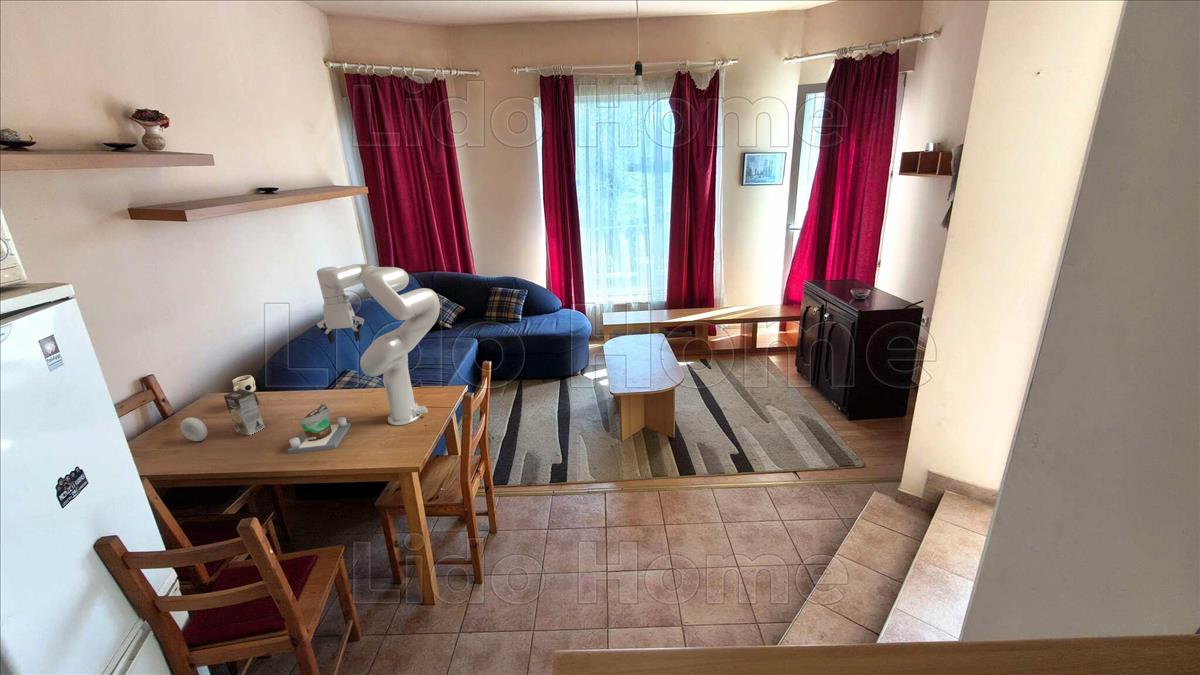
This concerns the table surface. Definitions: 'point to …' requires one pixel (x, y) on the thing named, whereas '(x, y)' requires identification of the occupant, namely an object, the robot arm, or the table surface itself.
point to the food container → (317, 423)
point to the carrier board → (326, 443)
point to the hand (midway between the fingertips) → (345, 341)
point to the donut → (188, 429)
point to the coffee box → (244, 411)
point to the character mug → (245, 384)
